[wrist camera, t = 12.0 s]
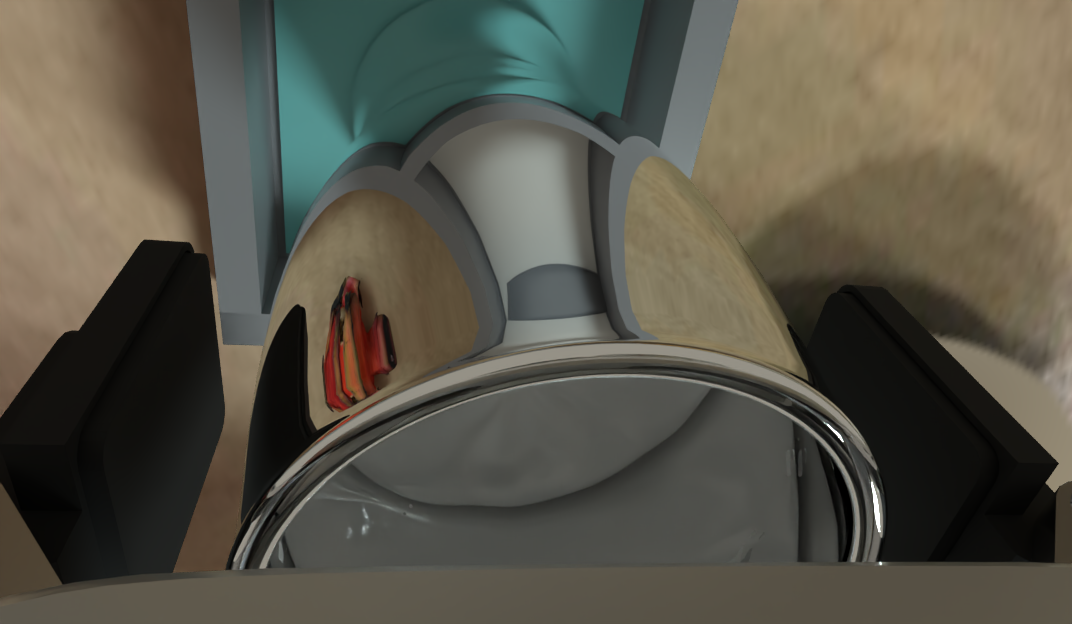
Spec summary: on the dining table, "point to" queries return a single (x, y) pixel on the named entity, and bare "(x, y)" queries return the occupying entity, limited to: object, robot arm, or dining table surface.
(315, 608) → the robot arm
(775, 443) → the silver metal cup
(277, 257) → the gray divided sorting tray
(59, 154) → the dining table surface
